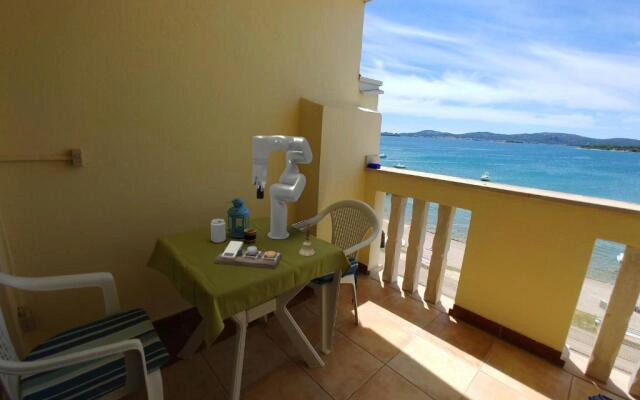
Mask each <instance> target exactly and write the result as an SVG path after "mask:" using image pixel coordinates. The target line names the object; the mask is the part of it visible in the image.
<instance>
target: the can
mask: <svg viewBox="0 0 640 400" xmlns="http://www.w3.org/2000/svg"><path fill="white" fill-rule="evenodd" d="M226 234H227V233H226V222H225V219H223V218H214V219H212V220H211V222H210V241H212V243H214V244H220V243H223V242H225V241H226V239H227V235H226Z"/></svg>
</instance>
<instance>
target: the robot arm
mask: <svg viewBox="0 0 640 400" xmlns="http://www.w3.org/2000/svg"><path fill="white" fill-rule="evenodd" d="M251 144H252V151H251V152H252V156H251V157H252V159H251V161H252V164H251V165H252V166H253V167H252V172H251V173H252V174H251V175H252V176H251V185H252V186H255V189H256V199H257V200H263V199H264V198H265V197H264V196H265V185H266V184H267V183H268V168H267V167H268V166H269V152H286V153H285V162H286V168H285V169H284V170H283V172H282V173H281V175H280V177H279V180H278V183H274V184H271V186H270V187H269V189H268V190H269V192H268V193H269V199H270V231H269V232H268V233H267V237H268V238H269V239H273V240H285V239H287V238H289V236H290V233H289V232H288V230H287V229H288V227H287V226H288V205H287V203H286V202H288V203H289V202H290V203H295V202H297V201H298V200H299V198H300V197H301V195H302V192H303V191H304V189H305V186H306V184H307V179H306V176H305V175H304V174H303V173H300V170H299V167H298V166H297V164H303V165H305V164H310V163H312V162H313V161H312V160H313V152H312V149H311V146H310V144H309V141H308V140H307V138H305V137H304V136H291V135H254V136H253V137H252V141H251Z"/></svg>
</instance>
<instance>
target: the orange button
mask: <svg viewBox="0 0 640 400" xmlns="http://www.w3.org/2000/svg"><path fill="white" fill-rule="evenodd" d="M266 251H267V250H266ZM275 252H276V251H275V250H268V251H267V252H266V258H275V254H276V253H275Z"/></svg>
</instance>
